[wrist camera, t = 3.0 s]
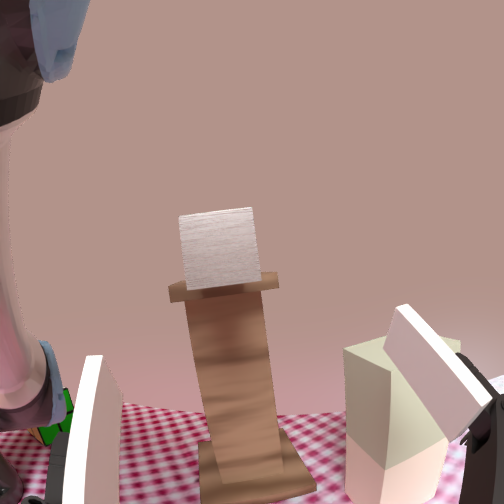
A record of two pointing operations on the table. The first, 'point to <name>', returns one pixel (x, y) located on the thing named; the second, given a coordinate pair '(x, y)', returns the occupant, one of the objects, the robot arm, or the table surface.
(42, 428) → the puzzle cube
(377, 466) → the tower lower
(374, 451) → the tower upper
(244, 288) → the walnut stand
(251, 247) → the steel bar
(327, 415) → the table surface
